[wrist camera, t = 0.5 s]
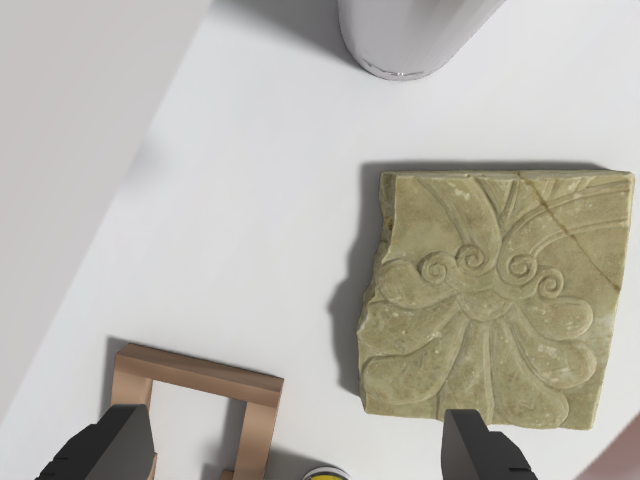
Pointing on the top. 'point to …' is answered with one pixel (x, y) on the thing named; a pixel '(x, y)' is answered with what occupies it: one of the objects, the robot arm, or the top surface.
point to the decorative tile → (494, 294)
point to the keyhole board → (256, 389)
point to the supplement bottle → (326, 474)
